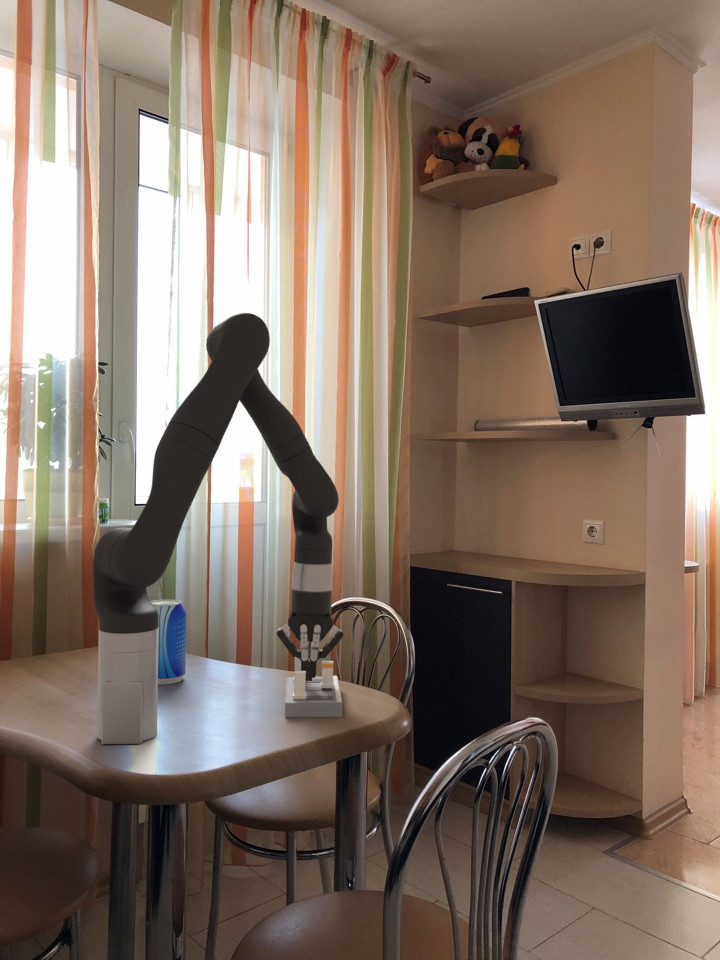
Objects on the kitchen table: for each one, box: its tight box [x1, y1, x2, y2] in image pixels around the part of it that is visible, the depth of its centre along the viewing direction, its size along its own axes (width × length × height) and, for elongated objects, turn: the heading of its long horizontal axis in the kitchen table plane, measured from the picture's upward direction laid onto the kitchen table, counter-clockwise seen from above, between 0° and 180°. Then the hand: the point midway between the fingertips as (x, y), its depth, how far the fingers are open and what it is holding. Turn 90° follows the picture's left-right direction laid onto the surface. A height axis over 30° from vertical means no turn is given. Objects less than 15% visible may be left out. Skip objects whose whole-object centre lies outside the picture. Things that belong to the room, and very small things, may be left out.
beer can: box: [150, 599, 187, 686], centre depth 165 cm, size 8×8×16 cm
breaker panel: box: [284, 657, 343, 718], centre depth 150 cm, size 18×10×7 cm, turn 4°
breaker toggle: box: [321, 660, 335, 688], centre depth 150 cm, size 2×2×5 cm
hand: (308, 679), depth 150 cm, fingers closed
